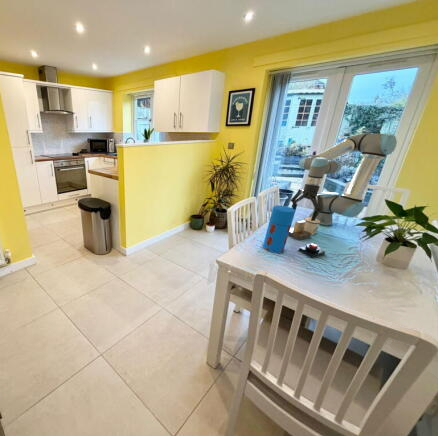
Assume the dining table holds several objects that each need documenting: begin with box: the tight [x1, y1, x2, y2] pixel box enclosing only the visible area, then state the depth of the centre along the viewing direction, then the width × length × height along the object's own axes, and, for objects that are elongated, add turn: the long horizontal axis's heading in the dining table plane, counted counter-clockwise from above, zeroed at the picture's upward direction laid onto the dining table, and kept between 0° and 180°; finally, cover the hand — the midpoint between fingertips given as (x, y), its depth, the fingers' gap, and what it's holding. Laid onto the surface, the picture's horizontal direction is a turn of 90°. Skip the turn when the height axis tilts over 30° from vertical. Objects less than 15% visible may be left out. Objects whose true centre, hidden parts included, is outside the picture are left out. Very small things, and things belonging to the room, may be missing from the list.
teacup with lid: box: [303, 216, 320, 236], centre depth 154 cm, size 12×9×12 cm
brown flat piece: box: [288, 227, 312, 241], centre depth 150 cm, size 12×11×3 cm
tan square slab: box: [293, 220, 306, 233], centre depth 148 cm, size 7×2×7 cm, turn 111°
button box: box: [298, 243, 326, 259], centre depth 129 cm, size 10×8×4 cm
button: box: [309, 242, 319, 249], centre depth 128 cm, size 4×4×2 cm
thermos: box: [262, 204, 296, 254], centre depth 128 cm, size 11×11×25 cm
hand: (302, 216), depth 145 cm, fingers open, 13 cm apart
